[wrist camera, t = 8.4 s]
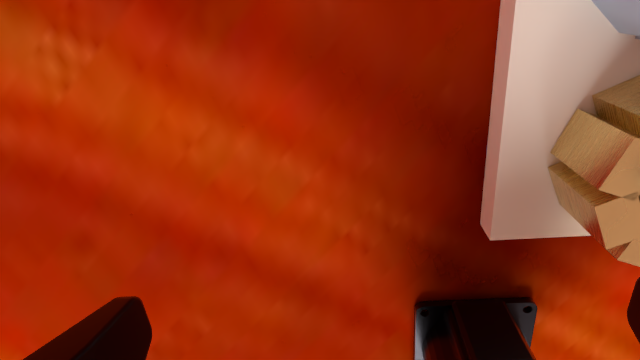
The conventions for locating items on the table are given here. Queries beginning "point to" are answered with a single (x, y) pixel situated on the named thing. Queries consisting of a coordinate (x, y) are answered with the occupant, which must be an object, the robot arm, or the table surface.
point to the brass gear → (604, 170)
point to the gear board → (544, 107)
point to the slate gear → (622, 15)
